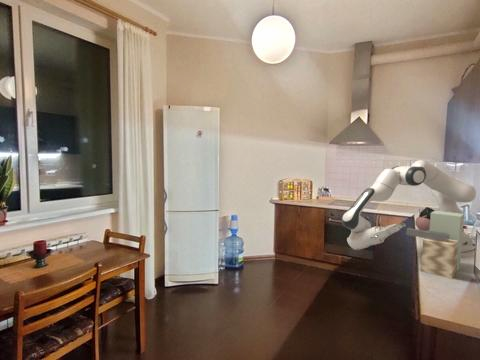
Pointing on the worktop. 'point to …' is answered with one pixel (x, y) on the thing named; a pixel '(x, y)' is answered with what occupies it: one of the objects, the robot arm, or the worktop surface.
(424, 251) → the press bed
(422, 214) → the squash
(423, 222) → the pink toy umbrella
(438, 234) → the lever bar
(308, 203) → the worktop surface
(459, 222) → the column
